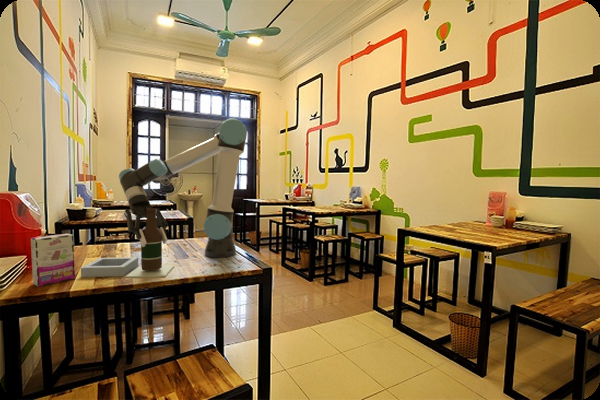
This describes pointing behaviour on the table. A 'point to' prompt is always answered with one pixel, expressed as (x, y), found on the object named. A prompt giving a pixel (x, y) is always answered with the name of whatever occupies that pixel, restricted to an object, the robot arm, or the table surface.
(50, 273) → the candy bar box
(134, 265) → the grey square tray
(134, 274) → the mat
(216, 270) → the table surface
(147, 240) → the beer bottle
